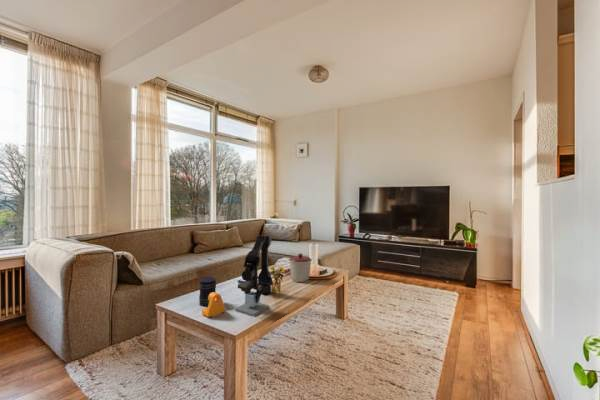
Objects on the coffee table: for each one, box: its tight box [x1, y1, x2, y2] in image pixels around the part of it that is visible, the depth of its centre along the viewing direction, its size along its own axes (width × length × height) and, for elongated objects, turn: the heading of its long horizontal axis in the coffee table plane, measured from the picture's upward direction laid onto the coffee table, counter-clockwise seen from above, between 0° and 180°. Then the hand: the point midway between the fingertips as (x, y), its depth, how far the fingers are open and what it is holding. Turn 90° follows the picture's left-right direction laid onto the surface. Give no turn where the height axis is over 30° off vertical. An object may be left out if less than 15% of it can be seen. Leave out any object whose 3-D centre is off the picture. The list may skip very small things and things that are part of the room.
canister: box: [288, 253, 313, 283], centre depth 221 cm, size 18×18×21 cm
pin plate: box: [234, 302, 270, 317], centre depth 166 cm, size 14×14×6 cm
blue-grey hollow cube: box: [244, 290, 261, 307], centre depth 166 cm, size 6×6×6 cm
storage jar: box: [198, 276, 217, 308], centre depth 174 cm, size 10×10×15 cm
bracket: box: [201, 291, 226, 318], centre depth 160 cm, size 11×7×12 cm, turn 139°
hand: (252, 301), depth 166 cm, fingers closed on blue-grey hollow cube, 6 cm apart
